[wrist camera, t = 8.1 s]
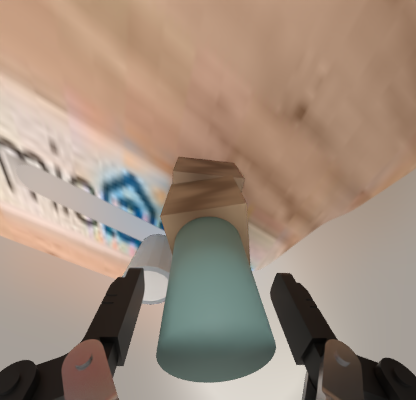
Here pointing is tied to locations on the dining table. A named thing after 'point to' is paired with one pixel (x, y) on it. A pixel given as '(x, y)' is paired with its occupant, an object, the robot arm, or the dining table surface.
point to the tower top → (205, 206)
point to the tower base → (205, 170)
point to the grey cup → (153, 267)
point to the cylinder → (212, 308)
